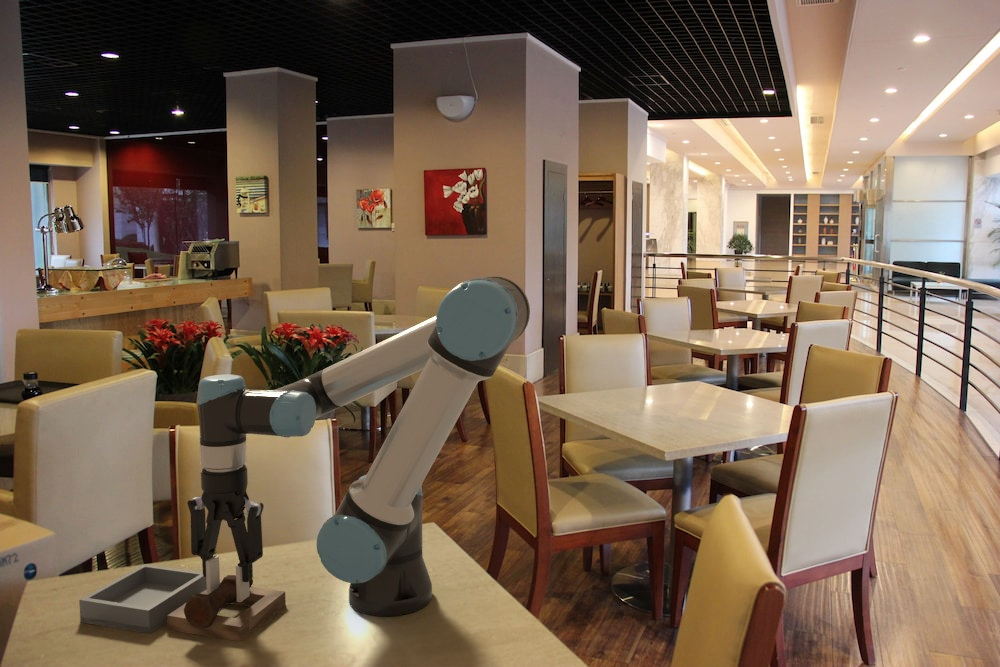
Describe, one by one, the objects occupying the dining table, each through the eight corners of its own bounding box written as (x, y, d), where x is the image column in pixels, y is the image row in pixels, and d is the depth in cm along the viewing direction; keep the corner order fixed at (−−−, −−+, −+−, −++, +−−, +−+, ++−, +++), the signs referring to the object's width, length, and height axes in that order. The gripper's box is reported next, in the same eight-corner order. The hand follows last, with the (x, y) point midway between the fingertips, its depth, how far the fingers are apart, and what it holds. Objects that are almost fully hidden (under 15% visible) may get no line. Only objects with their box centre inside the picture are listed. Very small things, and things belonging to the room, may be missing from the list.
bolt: (242, 559, 146) (193, 589, 132) (264, 574, 146) (218, 607, 131) (227, 584, 147) (178, 617, 133) (249, 600, 147) (202, 635, 132)
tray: (208, 593, 150) (208, 572, 150) (149, 633, 135) (148, 610, 135) (145, 584, 154) (144, 564, 154) (80, 622, 139) (79, 599, 138)
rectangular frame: (285, 604, 146) (285, 591, 146) (240, 641, 133) (240, 626, 132) (218, 595, 150) (217, 582, 150) (167, 629, 136) (167, 615, 136)
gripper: (283, 464, 139) (286, 594, 142) (192, 456, 144) (196, 581, 147) (258, 476, 132) (262, 612, 135) (163, 467, 137) (169, 599, 140)
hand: (228, 596), depth 141 cm, fingers closed on bolt, 5 cm apart
